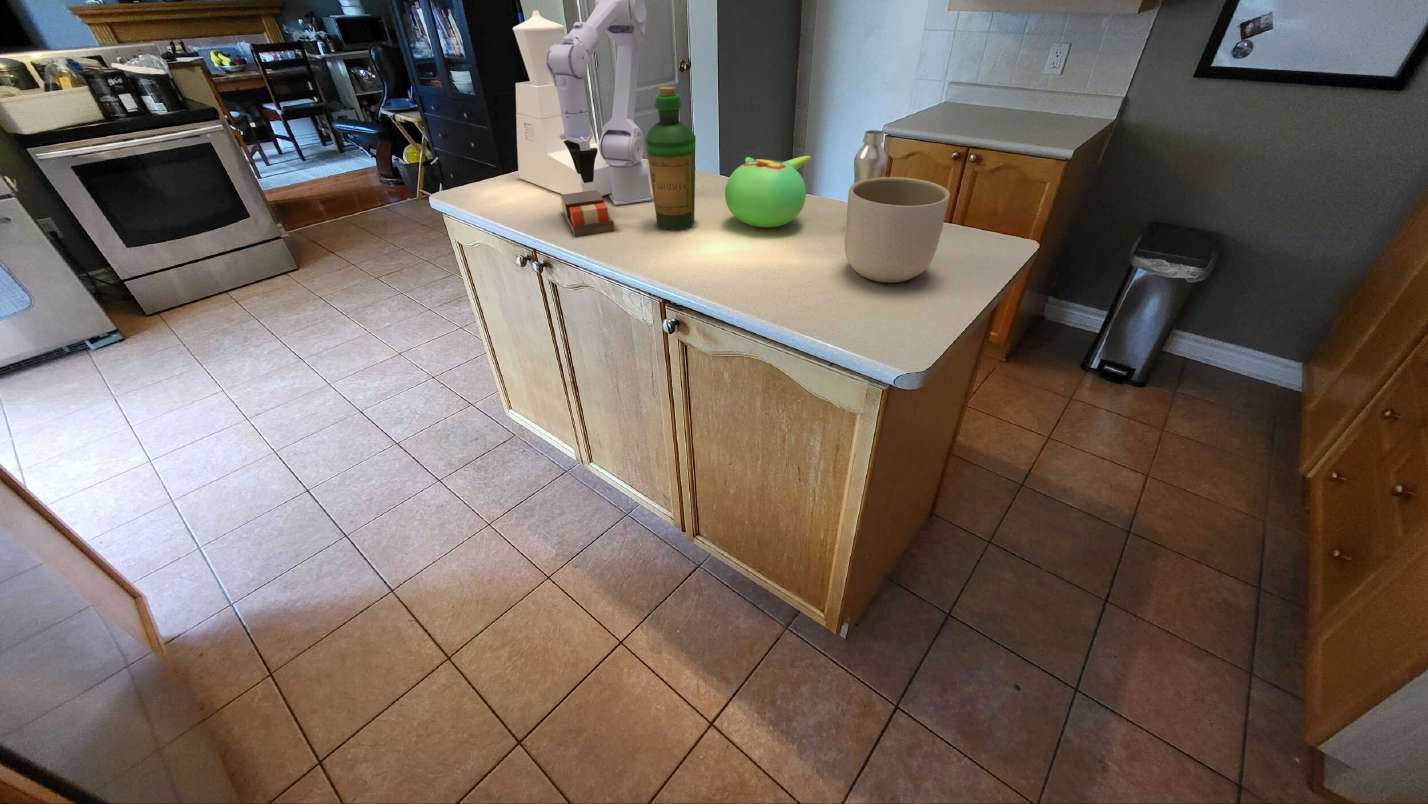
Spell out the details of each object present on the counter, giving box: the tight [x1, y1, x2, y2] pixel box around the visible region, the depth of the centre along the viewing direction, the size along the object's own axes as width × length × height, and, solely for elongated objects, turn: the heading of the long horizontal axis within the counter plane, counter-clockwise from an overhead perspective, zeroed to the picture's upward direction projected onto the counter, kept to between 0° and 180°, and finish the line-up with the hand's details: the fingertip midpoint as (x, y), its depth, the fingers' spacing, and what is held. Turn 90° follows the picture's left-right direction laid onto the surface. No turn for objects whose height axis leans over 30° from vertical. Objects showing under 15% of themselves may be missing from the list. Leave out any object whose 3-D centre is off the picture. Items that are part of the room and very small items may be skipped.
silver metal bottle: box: [853, 129, 888, 184], centre depth 120 cm, size 6×7×20 cm
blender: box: [512, 9, 612, 197], centre depth 147 cm, size 33×18×40 cm, turn 44°
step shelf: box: [559, 190, 615, 237], centre depth 133 cm, size 9×17×4 cm, turn 20°
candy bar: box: [570, 202, 610, 226], centre depth 129 cm, size 8×4×3 cm, turn 110°
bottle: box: [644, 86, 696, 231], centre depth 123 cm, size 11×11×28 cm
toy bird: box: [724, 155, 812, 228], centre depth 126 cm, size 18×17×15 cm
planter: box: [844, 176, 951, 284], centre depth 104 cm, size 17×17×15 cm
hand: (585, 177), depth 128 cm, fingers open, 7 cm apart
